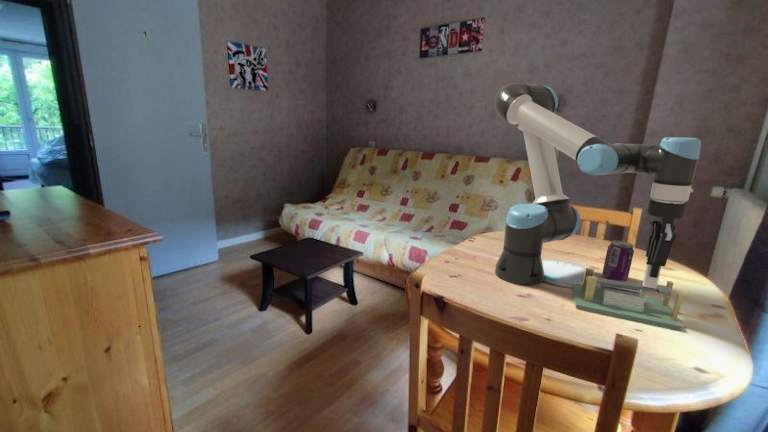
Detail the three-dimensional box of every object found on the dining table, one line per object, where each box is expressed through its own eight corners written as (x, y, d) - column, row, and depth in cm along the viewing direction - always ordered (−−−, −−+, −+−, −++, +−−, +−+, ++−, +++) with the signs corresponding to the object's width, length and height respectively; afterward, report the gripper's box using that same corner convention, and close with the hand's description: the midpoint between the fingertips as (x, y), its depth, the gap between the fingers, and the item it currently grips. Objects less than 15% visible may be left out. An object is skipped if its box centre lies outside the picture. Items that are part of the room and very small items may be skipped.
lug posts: (584, 301, 95) (588, 278, 94) (581, 287, 103) (585, 266, 102) (676, 320, 87) (683, 295, 85) (666, 303, 95) (672, 280, 93)
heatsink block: (602, 305, 94) (605, 291, 93) (598, 291, 102) (601, 278, 101) (642, 313, 90) (646, 299, 89) (635, 298, 98) (638, 285, 97)
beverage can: (631, 283, 110) (639, 248, 107) (607, 281, 111) (614, 246, 108) (621, 274, 116) (628, 241, 113) (598, 272, 118) (605, 239, 115)
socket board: (575, 308, 94) (576, 304, 94) (572, 285, 107) (573, 282, 107) (680, 330, 85) (682, 326, 84) (663, 303, 98) (664, 299, 98)
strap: (586, 284, 97) (587, 279, 96) (585, 279, 100) (586, 274, 100) (670, 296, 89) (671, 291, 88) (665, 290, 92) (666, 284, 92)
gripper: (697, 207, 78) (674, 300, 84) (678, 197, 90) (659, 279, 96) (657, 204, 82) (637, 294, 87) (643, 194, 93) (627, 274, 99)
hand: (649, 286), depth 92 cm, fingers closed
